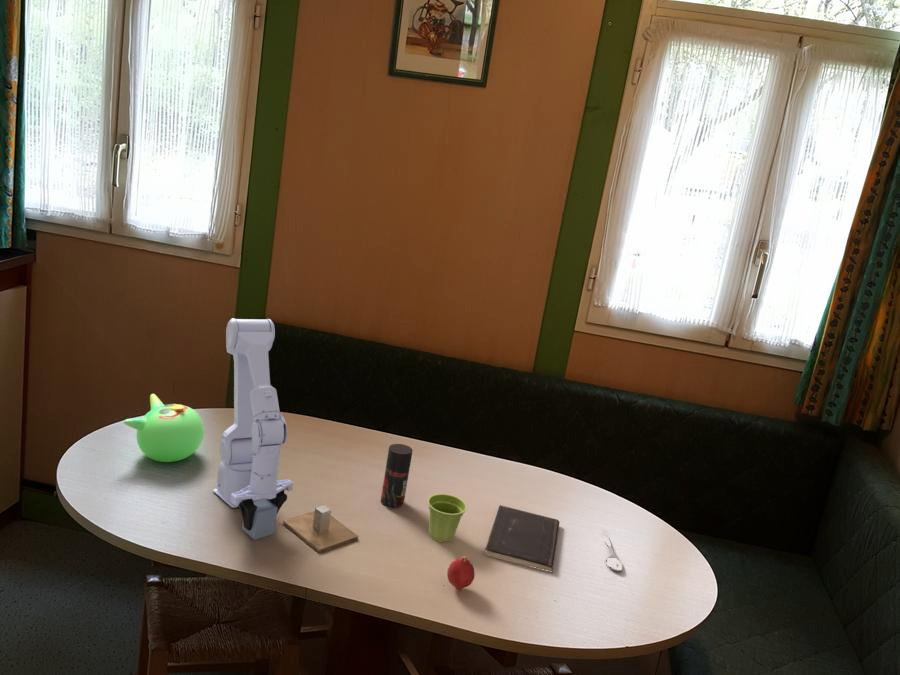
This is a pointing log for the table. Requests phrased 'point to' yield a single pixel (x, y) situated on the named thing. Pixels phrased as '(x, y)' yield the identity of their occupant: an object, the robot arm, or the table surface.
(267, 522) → the pale blue cuboid
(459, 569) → the onion
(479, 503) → the table surface
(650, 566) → the table surface
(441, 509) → the plant pot
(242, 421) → the robot arm
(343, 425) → the table surface
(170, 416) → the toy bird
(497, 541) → the hardcover book
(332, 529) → the wooden board
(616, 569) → the spoon
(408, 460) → the deodorant
